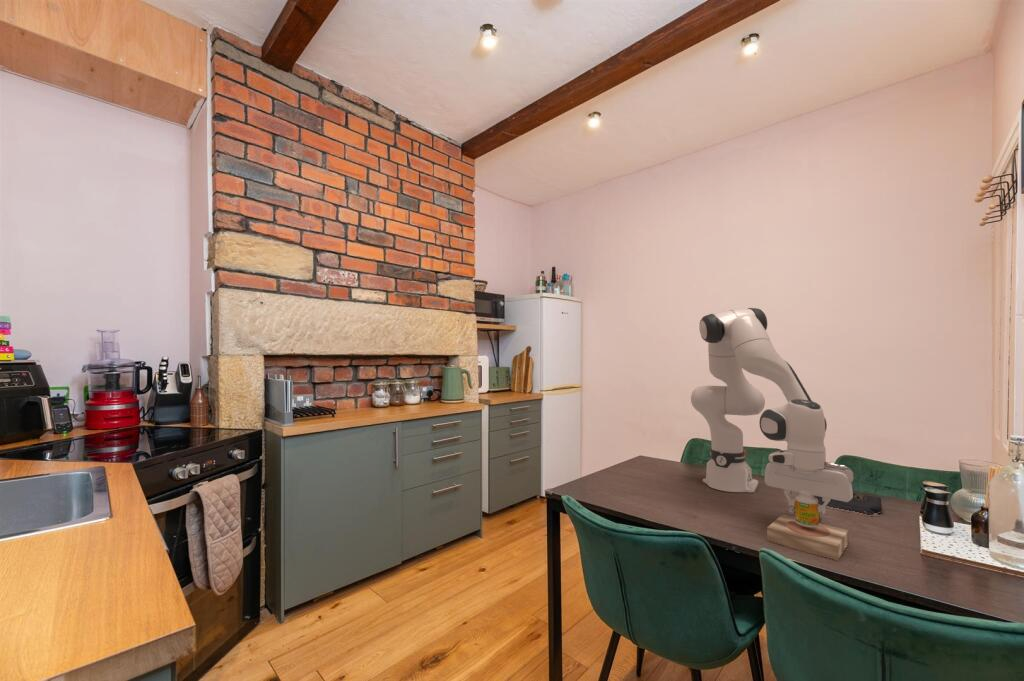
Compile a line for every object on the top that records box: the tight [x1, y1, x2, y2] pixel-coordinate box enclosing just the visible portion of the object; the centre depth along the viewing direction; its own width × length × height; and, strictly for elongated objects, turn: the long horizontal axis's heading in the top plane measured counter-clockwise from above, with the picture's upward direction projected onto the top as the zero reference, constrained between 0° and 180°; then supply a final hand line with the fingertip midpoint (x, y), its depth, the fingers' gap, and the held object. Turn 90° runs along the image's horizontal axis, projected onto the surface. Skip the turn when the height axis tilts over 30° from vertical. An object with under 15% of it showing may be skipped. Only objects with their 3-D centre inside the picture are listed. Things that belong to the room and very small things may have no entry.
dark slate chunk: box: [814, 492, 883, 515], centre depth 150 cm, size 15×22×5 cm
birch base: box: [766, 514, 850, 561], centre depth 120 cm, size 14×16×4 cm
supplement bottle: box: [794, 490, 820, 527], centre depth 121 cm, size 5×5×10 cm
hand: (806, 509), depth 121 cm, fingers closed on supplement bottle, 5 cm apart
